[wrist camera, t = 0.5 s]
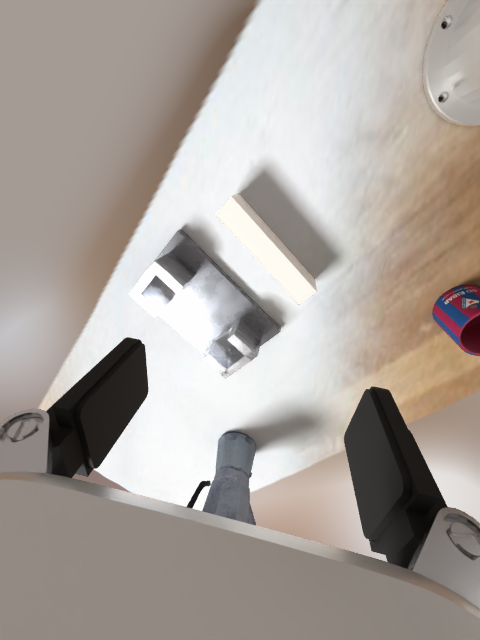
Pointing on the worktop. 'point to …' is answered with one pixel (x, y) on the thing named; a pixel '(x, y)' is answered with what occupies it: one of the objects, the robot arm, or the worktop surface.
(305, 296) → the slat
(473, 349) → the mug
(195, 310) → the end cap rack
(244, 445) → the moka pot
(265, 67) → the worktop surface
